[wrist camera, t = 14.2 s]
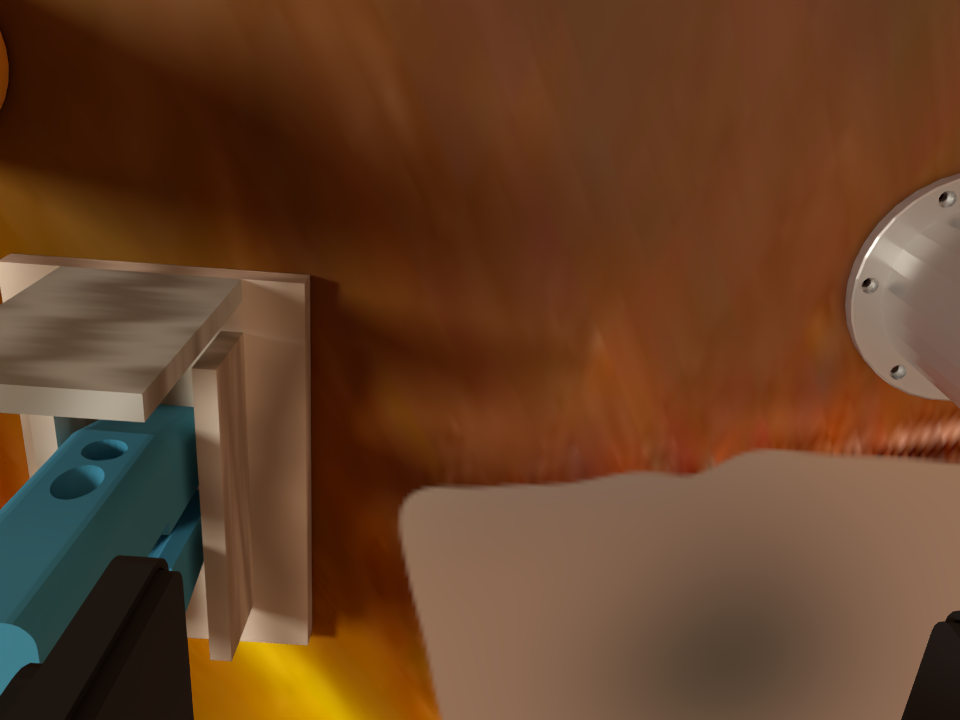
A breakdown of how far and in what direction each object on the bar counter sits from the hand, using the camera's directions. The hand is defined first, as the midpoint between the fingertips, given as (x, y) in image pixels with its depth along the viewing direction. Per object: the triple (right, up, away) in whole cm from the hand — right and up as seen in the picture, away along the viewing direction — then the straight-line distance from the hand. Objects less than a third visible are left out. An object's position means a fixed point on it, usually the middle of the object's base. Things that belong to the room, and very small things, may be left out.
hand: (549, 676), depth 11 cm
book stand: (-19, -2, +41) cm, 45 cm away
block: (-19, -2, +39) cm, 44 cm away
